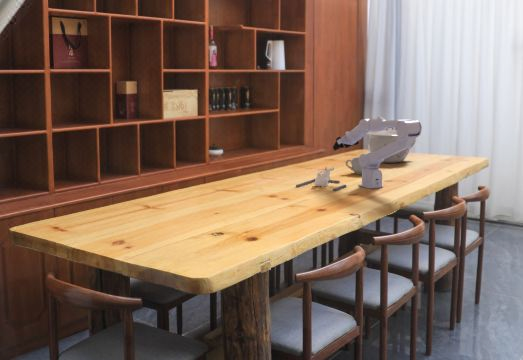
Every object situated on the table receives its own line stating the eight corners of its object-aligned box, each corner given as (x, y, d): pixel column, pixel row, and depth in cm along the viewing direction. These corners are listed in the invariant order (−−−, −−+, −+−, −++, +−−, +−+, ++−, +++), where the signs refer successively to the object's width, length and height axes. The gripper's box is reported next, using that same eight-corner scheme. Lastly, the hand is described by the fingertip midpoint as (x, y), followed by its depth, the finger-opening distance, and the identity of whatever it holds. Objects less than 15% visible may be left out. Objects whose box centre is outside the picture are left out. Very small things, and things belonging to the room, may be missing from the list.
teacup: (371, 172, 349) (371, 157, 348) (372, 175, 339) (373, 160, 337) (345, 171, 351) (345, 157, 349) (345, 175, 340) (345, 159, 339)
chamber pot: (362, 163, 378) (362, 127, 374) (368, 157, 404) (369, 123, 400) (411, 165, 370) (413, 129, 366) (415, 159, 396) (416, 124, 392)
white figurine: (327, 183, 318) (327, 163, 316) (339, 185, 313) (339, 165, 311) (310, 186, 310) (310, 166, 308) (322, 188, 304) (323, 168, 303)
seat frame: (353, 184, 314) (353, 182, 314) (335, 191, 297) (335, 189, 297) (315, 180, 325) (315, 178, 325) (295, 187, 307) (295, 185, 307)
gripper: (363, 124, 317) (346, 138, 328) (341, 129, 309) (325, 142, 319) (369, 137, 316) (352, 150, 326) (348, 142, 307) (331, 155, 317)
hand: (339, 147), depth 322 cm, fingers open, 7 cm apart
